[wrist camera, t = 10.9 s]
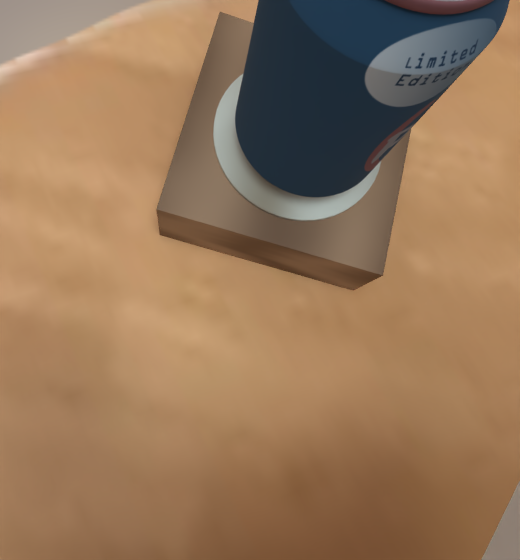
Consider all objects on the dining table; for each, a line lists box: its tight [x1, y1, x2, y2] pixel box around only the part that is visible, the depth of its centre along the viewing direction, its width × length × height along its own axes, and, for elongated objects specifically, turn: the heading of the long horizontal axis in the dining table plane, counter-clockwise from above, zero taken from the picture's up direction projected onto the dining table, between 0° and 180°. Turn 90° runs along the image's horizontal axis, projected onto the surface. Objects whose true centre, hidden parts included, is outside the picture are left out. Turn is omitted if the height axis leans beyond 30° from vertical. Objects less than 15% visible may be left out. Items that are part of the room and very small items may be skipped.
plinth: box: [157, 12, 411, 290], centre depth 25 cm, size 11×11×4 cm
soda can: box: [235, 0, 509, 197], centre depth 17 cm, size 7×7×12 cm
